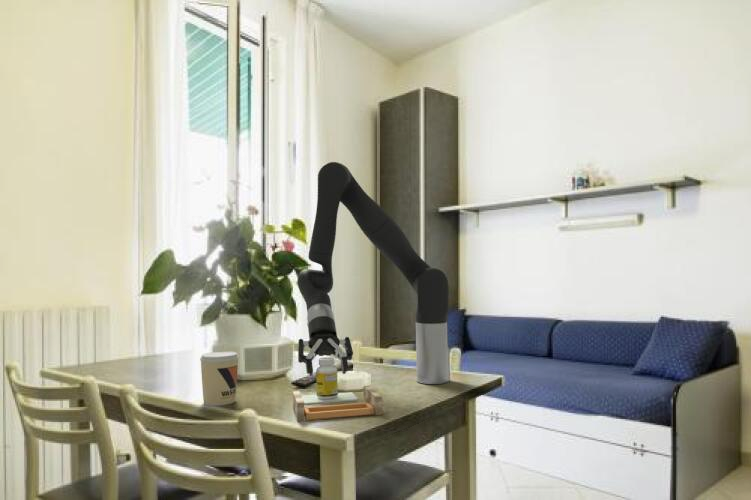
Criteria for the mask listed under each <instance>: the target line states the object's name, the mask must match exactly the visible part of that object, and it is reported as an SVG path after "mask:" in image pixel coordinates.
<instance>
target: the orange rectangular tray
mask: <svg viewBox="0 0 751 500" xmlns="http://www.w3.org/2000/svg"><path fill="white" fill-rule="evenodd" d="M371 416H374V413H373V407H372V406H371V405H370V404H369V403H364V402H357V403H343V404H332V405H331V404H329V405H318V406H317V405H316V406H306V407H305V406H304V420H305V421H306V422H310V421H320V420H321V421H322V420H323V421H324V420H333V419H335V420H336V419H347V418H357V417H360V418H361V417H371Z"/></svg>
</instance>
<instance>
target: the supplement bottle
mask: <svg viewBox="0 0 751 500" xmlns="http://www.w3.org/2000/svg"><path fill="white" fill-rule="evenodd" d="M318 365H319V366H318V367H317V368H316V375H315V376H316V377H315V378H316V395H317V397H318V398H320V399H333V398H336V397H337V396H338V393H339V388H338V387H339V384H338V368H337V367H336V366H335V357H329V356H326V357H320V358H318Z"/></svg>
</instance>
